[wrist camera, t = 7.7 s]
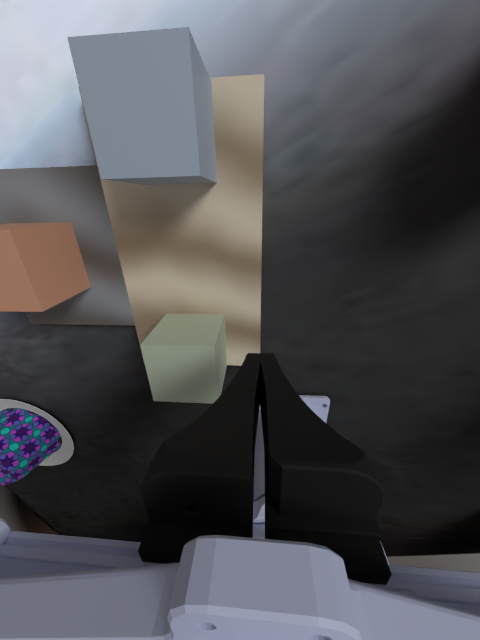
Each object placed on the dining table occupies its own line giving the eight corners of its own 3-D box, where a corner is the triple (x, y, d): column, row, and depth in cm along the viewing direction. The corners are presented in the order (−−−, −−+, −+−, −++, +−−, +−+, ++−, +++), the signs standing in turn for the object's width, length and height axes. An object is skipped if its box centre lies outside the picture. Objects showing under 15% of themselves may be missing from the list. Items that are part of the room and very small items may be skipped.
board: (259, 359, 23) (259, 366, 22) (53, 354, 25) (46, 360, 24) (264, 81, 15) (264, 74, 14) (-54, 102, 16) (-73, 96, 15)
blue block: (217, 182, 16) (200, 175, 12) (144, 184, 17) (101, 179, 12) (211, 82, 14) (188, 27, 10) (127, 87, 14) (67, 37, 10)
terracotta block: (91, 287, 20) (42, 311, 16) (34, 286, 21) (-28, 311, 16) (71, 222, 18) (8, 229, 14) (9, 223, 18) (-72, 230, 14)
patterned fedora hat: (-26, 382, 28) (-84, 419, 23) (77, 410, 29) (42, 451, 24) (-10, 446, 33) (-54, 487, 29) (78, 469, 34) (48, 512, 30)
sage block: (227, 363, 23) (218, 403, 18) (174, 361, 23) (153, 401, 19) (224, 314, 20) (214, 346, 16) (166, 313, 21) (140, 344, 16)
